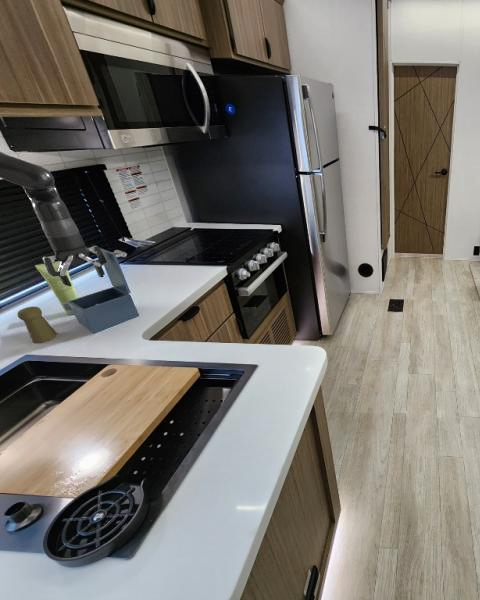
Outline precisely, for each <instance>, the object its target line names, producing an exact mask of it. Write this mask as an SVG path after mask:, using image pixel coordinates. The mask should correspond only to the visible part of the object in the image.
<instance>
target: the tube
mask: <svg viewBox="0 0 480 600" xmlns="http://www.w3.org/2000/svg"><path fill="white" fill-rule="evenodd" d="M60 263H61V261H59V260H57V261H54V263H53V264H52V265H53V267H54V269H55V271H58V269H59V265H60ZM34 267H35V268H36V270H37V271H38V272H39V273H40V275H41V277H43V279H44V280H45V282H46V283H47V285H48V286H49V288H50V289H51V291H52V292H53V294H54V295H55V297H56V299H57V301H58V303H59V304H60V305H61V307H62V309H63V310H64V312H65V314H66V315H74V313H73V311H72V309H71V308H70V306H69V304H68V302H67V301H70V300H74V299H77V298H79V295H78V293H77V291H76V289H75V286H74V283H73V281H72V278H71V276H70V273H69V269H68V270H67V271H66V274H65V275H67V277H68V279H69V281H70V283H71V285H72V286H70V287H69V286H67V285H64V284H63V283H62V281H61V279H60V277H59V276H51V275H50V274H49V273H48V271H47V269H46V266H45V264H44V263H41V264H36V265H34Z"/></svg>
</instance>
